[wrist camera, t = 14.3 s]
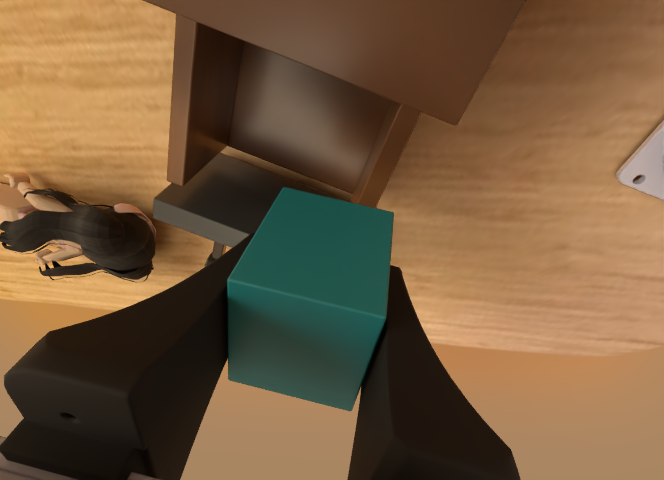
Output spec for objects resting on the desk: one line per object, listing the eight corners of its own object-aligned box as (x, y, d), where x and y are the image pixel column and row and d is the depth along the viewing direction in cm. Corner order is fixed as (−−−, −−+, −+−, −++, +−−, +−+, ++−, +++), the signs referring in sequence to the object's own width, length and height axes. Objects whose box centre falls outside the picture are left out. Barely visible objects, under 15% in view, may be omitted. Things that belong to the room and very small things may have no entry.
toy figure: (16, 241, 31) (177, 267, 29) (-69, 283, 26) (119, 320, 23) (-19, 158, 28) (159, 179, 25) (-126, 186, 23) (88, 217, 20)
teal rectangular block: (367, 299, 16) (351, 413, 12) (274, 277, 16) (227, 380, 12) (394, 211, 13) (386, 318, 9) (283, 185, 13) (226, 279, 9)
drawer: (334, 281, 26) (316, 351, 21) (199, 231, 26) (150, 291, 21) (464, 3, 16) (487, 16, 11) (242, -90, 15) (163, -121, 10)
